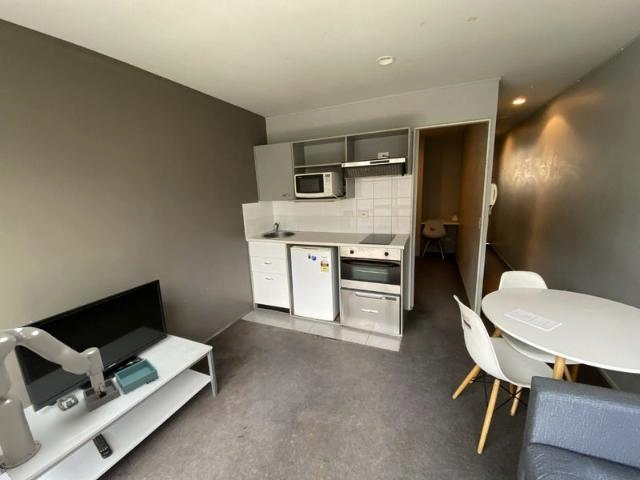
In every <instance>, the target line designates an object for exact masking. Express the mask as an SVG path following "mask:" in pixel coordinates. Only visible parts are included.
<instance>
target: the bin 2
mask: <svg viewBox="0 0 640 480" xmlns="http://www.w3.org/2000/svg"><path fill="white" fill-rule="evenodd" d="M114 377H115V381H116V382H117V384H118V386H119V387H120V388H121V390H122V392H123V393H124V394H125V395H126V394H128V393H131V392H132V391H134V390H136V389H137V388H140V387H141V386H144V385H145V384H146V385H148V384H150V383H152V382H153V381H156V380H157V379H159V373H158V370H157V368H156V367H155V366H154V365H153V363H151V362H150V360H149V359H147V358H144V359H143V360H141V361H139V362H136V363H134V364H132V365H131V366H128V367H126V368H123V369H122V370H120V371H118V372H116V373H114Z"/></svg>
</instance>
